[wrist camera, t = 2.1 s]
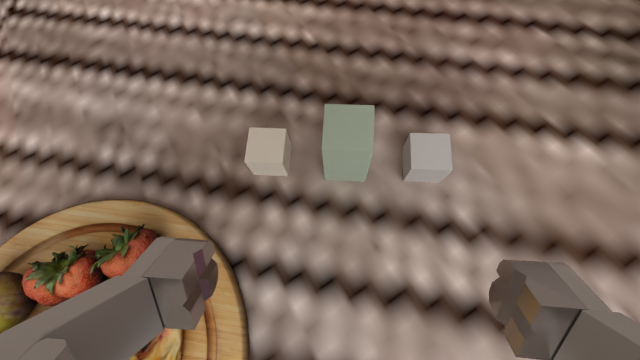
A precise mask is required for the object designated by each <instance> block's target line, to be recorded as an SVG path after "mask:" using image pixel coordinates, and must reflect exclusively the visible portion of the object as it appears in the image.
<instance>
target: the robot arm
mask: <svg viewBox="0 0 640 360" xmlns="http://www.w3.org/2000/svg"><path fill="white" fill-rule="evenodd" d="M214 253H215V249H214V244H213V242H211V241H210V240H199V239H187V238H173V237H159V238H156V239H155V240H154V241H153V242H152V244H151V245H150V246H149V247H148V248H147V249H146V250H145V251H144V252H143V253H142V254H141V256H140V257H139V258H138V259H137V260H136V261H135V262H134V263H133V264H132V265H131V267H130V268H129V269H128V270H127V271H126V272H125V273H124V274H123V275H122V276H115V277H113V278H110V279H108V280H106V281H104V282H102V283H100V284H98V285H96V286H94V287H92V288H90V289H88V290H86V291H84V292H82V293H80V294H78V295H76V296H74V297H72V298H70V299H68V300H66V301H64V302H62V303H60V304H58V305H56V306H54V307H52V308H50V309H48V310H46V311H44V312H42V313H40V314H38V315H36V316H34V317H32V318H30V319H28V320H26V321H24V322H22V323H20V324H18V325H16V326H14V327H12V328H10V329H8V330H6V331H4V332H2V333H1V334H0V360H128V359H130V358H131V357H132V356H133V355H134V354H136V353H137V352H138V351H139V350H140V349H142V348H143V347H144V346H145V345H146V344H148V343H149V342H150V341H151V340H152V339H154V338H155V337H156V336H157V335H159V334H160V333H161V332H162V331H163V330H164V329H163V328H167V329H186V330H195V328H196V326H197V325H198V323H199V321H200V319H201V317H202V315H203V313H204V311H205V305H204V301H206V300H207V299H209V298H210V297H211V296H212V295H213V293H214V291H215V288H216V285H217V281H218V265H217V263H216V262H215V261H214V260H213V259H212V256H213V255H214ZM496 271H497V273H498V274H499V276H500V277H499V278H498V279H496V280H495V281H494V282H492V284H491V287H490V290H489V302H490V306H491V310H492V312H493V314H494V316H495V318H496V319H498V320H499V321H500V322H501V323H503V324H504V325H505V329H504V332H503V333H504V335H505V337H506V339H507V341H508V343H509V345H510V346H511V348H512V350H513V352H514V354H515V356H516V357H522V358H531V359H540V360H640V324H639V323H637V322H635V321H634V320H632V319H630V318H628V317H626V316H625V315H623V314H621V313H618V312H612V311H611V310H610V309H609V308H608V307H607V305H606V304H605V303H604V302H603V301H602V300H601V299H600V298H599V297H598V296H597V295H596V294H595V293H594V292H593V291H592V290H591V289H590V288H589V287H588V285H587V284H586V283H585V282H584V281H583V280H582V279H581V278H580V277H579V276H578V275H577V274H576V273H575V272H574V271H573V270H572V269H571V268H570V266H568V265H566V264H565V263H563V262H543V261H542V262H535V261H518V260H502V261H501V262H500V263H499V265H498V268H497V270H496Z"/></svg>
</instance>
